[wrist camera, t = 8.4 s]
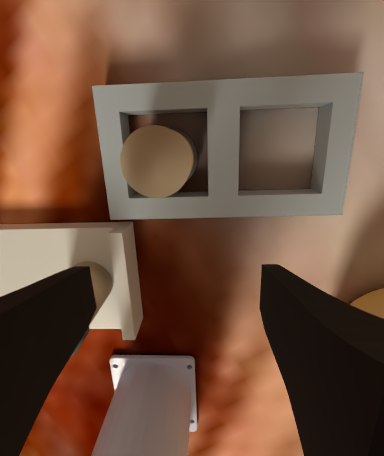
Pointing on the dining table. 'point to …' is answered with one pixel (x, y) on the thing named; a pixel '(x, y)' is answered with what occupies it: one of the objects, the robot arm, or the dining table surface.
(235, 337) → the dining table surface
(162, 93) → the pin block
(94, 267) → the plain peg
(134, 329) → the flanged base plate
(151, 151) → the banded peg
